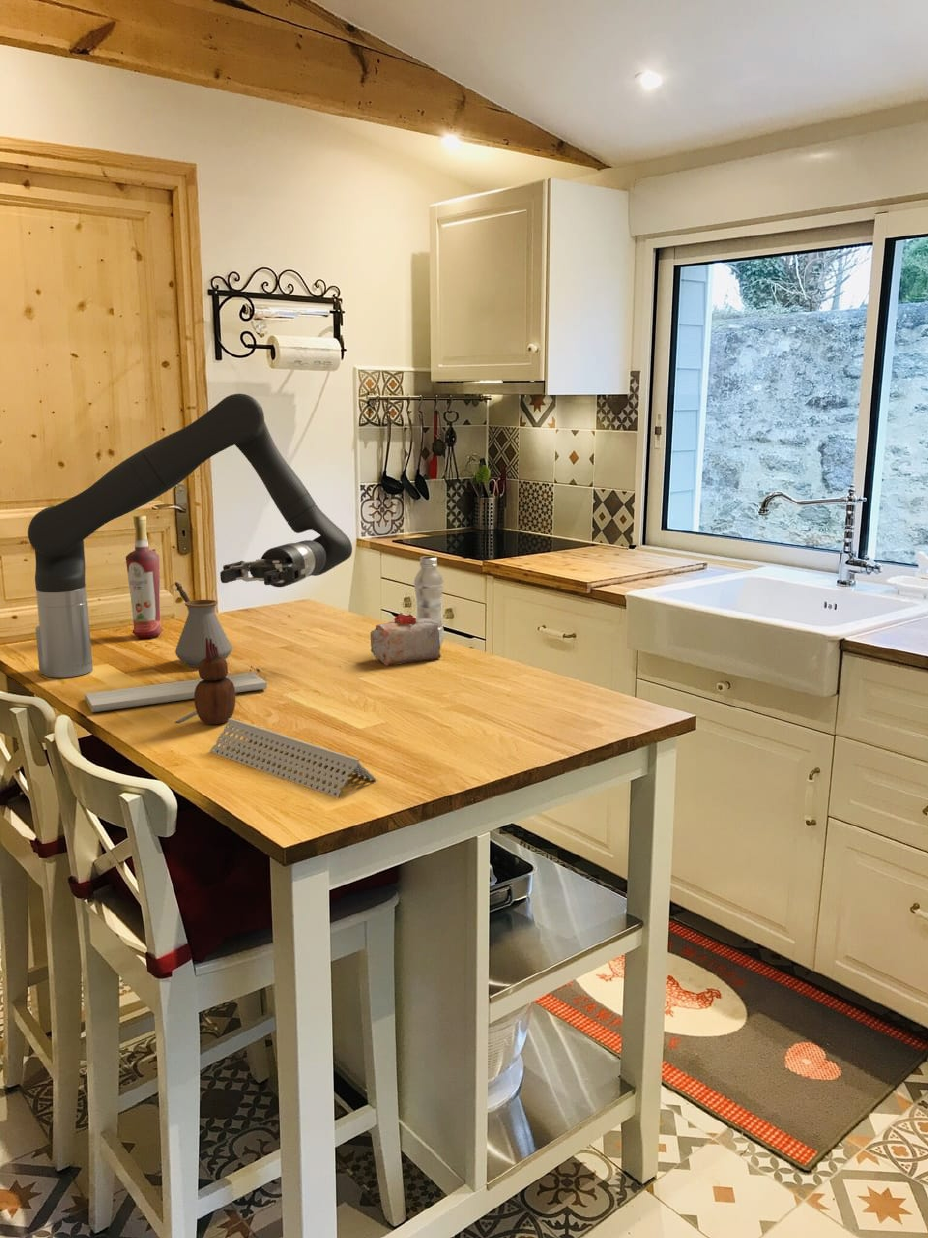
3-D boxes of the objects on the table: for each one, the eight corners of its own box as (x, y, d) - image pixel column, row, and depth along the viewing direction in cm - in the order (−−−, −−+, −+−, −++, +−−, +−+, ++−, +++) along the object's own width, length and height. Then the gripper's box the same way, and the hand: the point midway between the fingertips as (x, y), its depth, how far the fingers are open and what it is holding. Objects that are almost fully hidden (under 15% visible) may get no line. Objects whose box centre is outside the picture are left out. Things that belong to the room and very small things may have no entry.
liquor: (170, 633, 235) (162, 514, 229) (154, 641, 228) (145, 518, 222) (142, 632, 236) (133, 514, 230) (125, 639, 229) (116, 517, 223)
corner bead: (207, 755, 154) (205, 725, 153) (253, 741, 161) (252, 711, 160) (334, 803, 136) (333, 768, 135) (381, 784, 143) (380, 751, 142)
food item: (383, 668, 203) (382, 621, 201) (368, 660, 210) (367, 614, 208) (443, 660, 210) (442, 614, 208) (426, 652, 217) (426, 608, 214)
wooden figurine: (214, 730, 165) (208, 641, 162) (189, 724, 168) (183, 637, 165) (243, 719, 170) (238, 633, 167) (218, 713, 173) (214, 629, 170)
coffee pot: (241, 664, 207) (237, 593, 204) (186, 672, 200) (182, 599, 197) (204, 644, 224) (200, 578, 221) (153, 651, 218) (148, 584, 214)
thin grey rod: (175, 722, 169) (175, 721, 169) (234, 692, 186) (234, 691, 186) (179, 722, 169) (179, 721, 169) (238, 692, 186) (238, 691, 186)
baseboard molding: (83, 698, 184) (92, 714, 173) (82, 682, 183) (91, 698, 172) (250, 676, 197) (267, 690, 187) (249, 662, 197) (266, 675, 186)
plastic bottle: (450, 645, 222) (449, 556, 218) (432, 652, 216) (431, 560, 212) (426, 642, 225) (425, 554, 221) (408, 648, 220) (407, 558, 216)
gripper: (254, 543, 191) (207, 555, 176) (321, 545, 187) (279, 558, 172) (256, 582, 193) (210, 597, 178) (323, 585, 188) (281, 601, 173)
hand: (244, 578), depth 175 cm, fingers open, 8 cm apart
